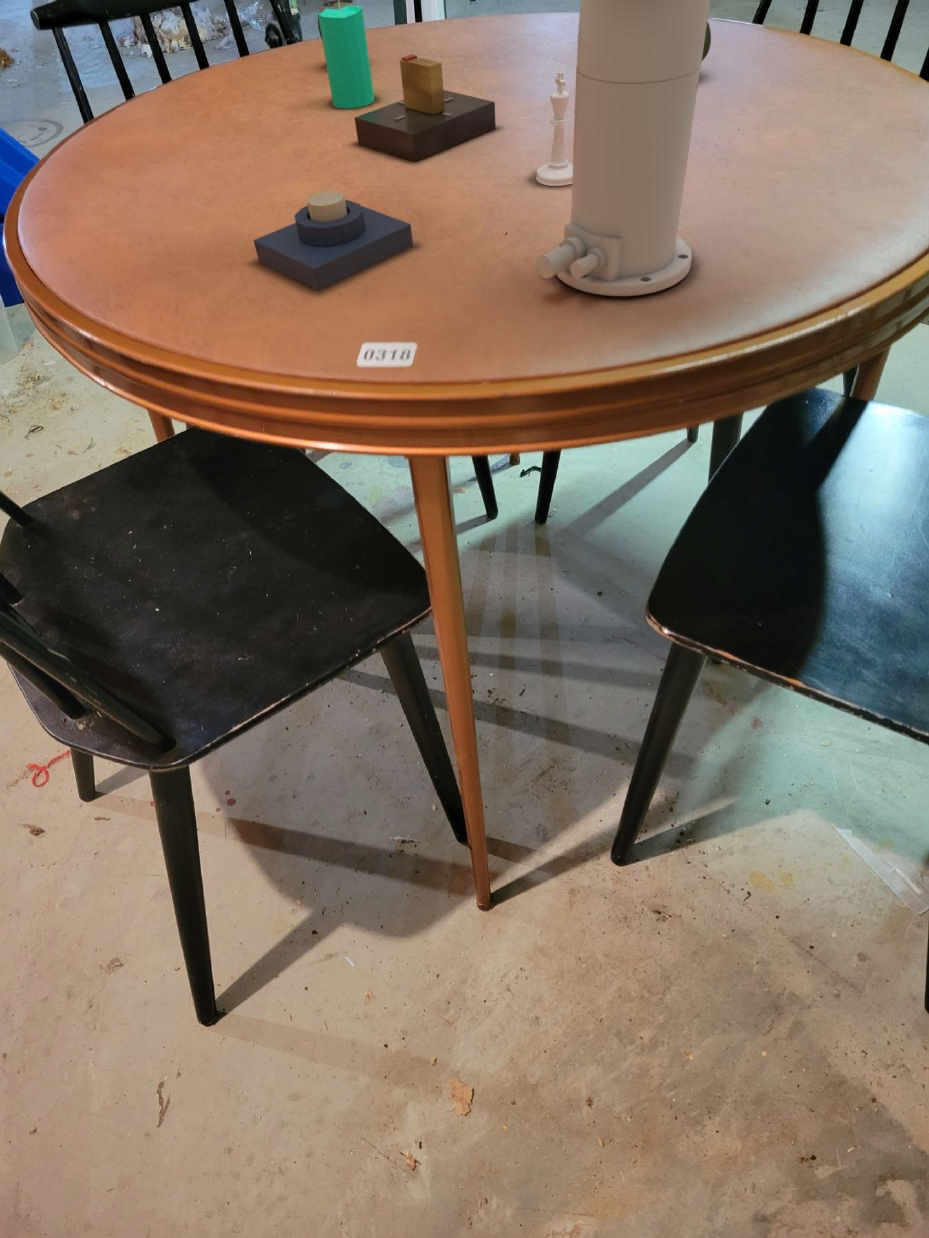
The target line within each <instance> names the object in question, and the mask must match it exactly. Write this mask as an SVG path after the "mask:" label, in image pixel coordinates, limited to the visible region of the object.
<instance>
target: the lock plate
mask: <svg viewBox="0 0 929 1238" xmlns="http://www.w3.org/2000/svg"><path fill="white" fill-rule="evenodd" d="M443 91H444V105H445V111H442V112H440V113H437V114H435V115H432V114H428V113H424V112H420V111H417V110H413V109H409V108H405V105H404V99H402V100H399V101H396V102H393V103H390V104H388V105H385V106H382V107H380V108H377V109H374V110H371V111H368V112H365V113H363V114H360V115H357V116H354V125H355V130H356V137H357V143H358V145H360V146H362V147H363V146H364V147H367V148H370V149H372V150H377V151H380V152H383V153H386V154H388V155H389V154H390V155H393V156H395V157H399V158H402V159H405V160H408V161H411V162H415V163H416V162H418V161H421V160H423V159H426V158H428V157H430V156H433V155H435V154H437V153H439V152H442V151H445V150H447V149H449V148H453V147H454V146H457V145H460V144H462V143H465V142H467V141H469V140H472V139H475V138H476V137H479V136H482V135H484V134H486V133H488V132H491V131H494V130H495V129H496V102H495V101H493V100H489V99H484V98H481V97H475V96H471V95H467V94H464V93H463V94H462V93H459V92H455V91H450V90H446V89H443Z"/></svg>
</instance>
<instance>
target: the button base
mask: <svg viewBox="0 0 929 1238" xmlns="http://www.w3.org/2000/svg"><path fill="white" fill-rule="evenodd" d="M345 203H346V208H347V214H348V215H347V216H346V217H344V218H341V219H339V220H336V221H330V222H314V221H312V220H311V219H310V214H309V209H308V205H306V206H303V207H301V208H300V209H299V210H298V211H297V212H296V213H295V214H294V216H293V217H294V221H295V222H293V223H292V224H288V225H287V226H284V227H282V228H280V229H277V230H275V231H272V232H270V233H267V234H265V235H263V236H260V237H258V238H255V239H253V244H254V248H255V252H256V255H257V259H258V263H259V264H261V265H263V266H266V267H268V268H270V269H272V270H275V271H276V272H279V273H281V274H282V275H284V276H286V277H288V278H291V279H292V280H295V281H297V282H299V283H301V284H303V285H305V286H307V287H309V288H311V289H313V290H315V291H317V292H320V291H322V290H324V289H326V288H329V287H331V286H333V285H335V284H337V283H339V282H342V281H343V280H346V279H348V278H350V277H352V276H354V275H356V274H358V273H360V272H362V271H364V270H366V269H368V268H371V267H372V266H375V265H378V264H379V263H382V262H384V261H386V260H387V259H390V258H392V257H394V256H396V255H398V254H400V253H403V252H405V251H406V250H409V249H410V248H413V247H414V242H413V232H412V225H411V223H409V222H406V221H404V220H400V219H397V218H396V217H393V216H391V215H387V214H385V213H382V212H379V211H377V210H374V209H371V208H369V207H366V206H363V205H361V204H360V203H358V202H355V201H352V200H350V199H345Z"/></svg>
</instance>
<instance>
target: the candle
mask: <svg viewBox="0 0 929 1238" xmlns="http://www.w3.org/2000/svg"><path fill="white" fill-rule="evenodd" d="M338 4H339V9H338V10H336V9H326V10H324V11H323V12H322V13H321V14H320V13H319V12H318V13H319V14H318V13H317V18H318V17H319V23H320V29H321V35H322V39H321V41H323V42H322V46H323V52H324V57H325V58H324V59H325V64H326V70H327V76H328V81H329V88H330V93H331V99H332V105H333V106H334V107H336V108H337V109H338V108H339V109H359V108H363V107H367V106H368V105H370V104H372V103H374V102H375V93H374V86H373V79H372V73H371V63H370V56H369V49H368V41H367V33H366V26H365V18H364V11H363V7H361V6H360V5H358V4H357V5H350V6H346V7H343V8H340V3H339V0H338Z"/></svg>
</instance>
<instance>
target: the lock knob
mask: <svg viewBox="0 0 929 1238" xmlns="http://www.w3.org/2000/svg"><path fill="white" fill-rule="evenodd" d="M399 66H400V67H399V68H400V75H401V85H402V95H403V100H404V105H405V108H409V109H413V110H417V111H420V112H424V113H428V114H432V115H435V114H437V113H440V112H442V111H445V105H444V91H443V90H444V81H443V79H444V78H443V65H442V62H441V61H436V60H432V59H426V58H422V57H418V55H416V54H411V53H410V54H408V55H405V56H402V57H401V59H400V60H399Z"/></svg>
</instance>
